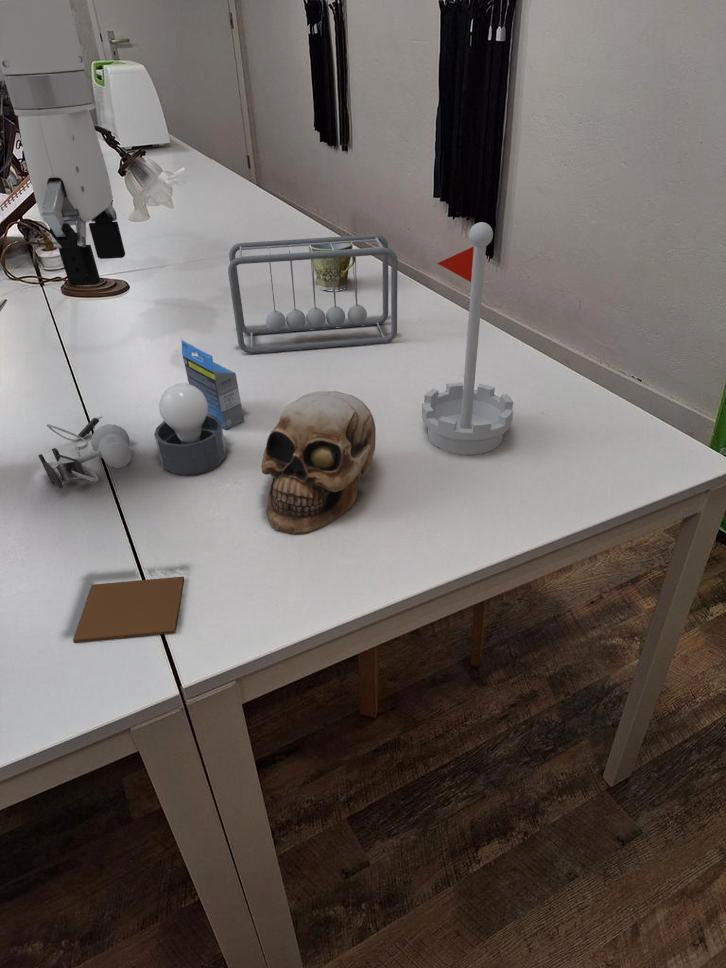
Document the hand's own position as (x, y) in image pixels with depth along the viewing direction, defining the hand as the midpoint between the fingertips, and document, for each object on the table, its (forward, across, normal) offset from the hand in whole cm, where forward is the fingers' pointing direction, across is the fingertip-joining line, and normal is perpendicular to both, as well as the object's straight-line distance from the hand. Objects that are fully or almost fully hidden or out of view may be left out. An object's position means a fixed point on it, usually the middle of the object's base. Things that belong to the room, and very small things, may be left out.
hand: (99, 270), depth 74 cm
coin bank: (+29, +5, +23) cm, 37 cm away
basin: (+28, -4, +5) cm, 29 cm away
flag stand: (+29, -8, +44) cm, 53 cm away
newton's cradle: (+29, -46, +21) cm, 58 cm away
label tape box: (+28, -16, +6) cm, 33 cm away
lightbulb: (+28, -4, +5) cm, 28 cm away
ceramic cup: (+29, -76, +24) cm, 84 cm away
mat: (+28, +26, +4) cm, 38 cm away
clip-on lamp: (+28, -4, -10) cm, 30 cm away
